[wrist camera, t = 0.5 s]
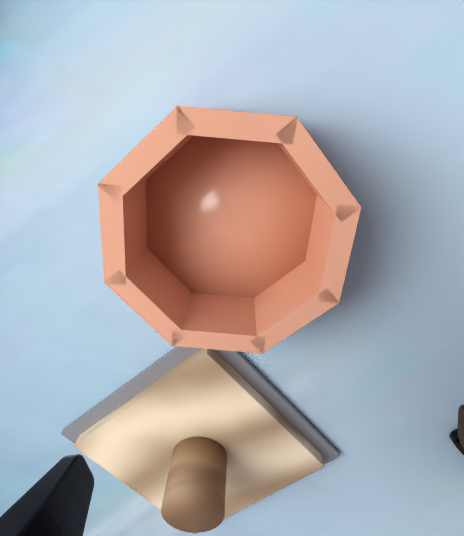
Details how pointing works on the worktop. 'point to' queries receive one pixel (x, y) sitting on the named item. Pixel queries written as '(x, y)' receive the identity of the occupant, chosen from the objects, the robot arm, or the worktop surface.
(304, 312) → the bowl
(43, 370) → the worktop surface
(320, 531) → the worktop surface
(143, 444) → the lid
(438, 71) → the worktop surface
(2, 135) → the worktop surface
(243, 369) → the mat
